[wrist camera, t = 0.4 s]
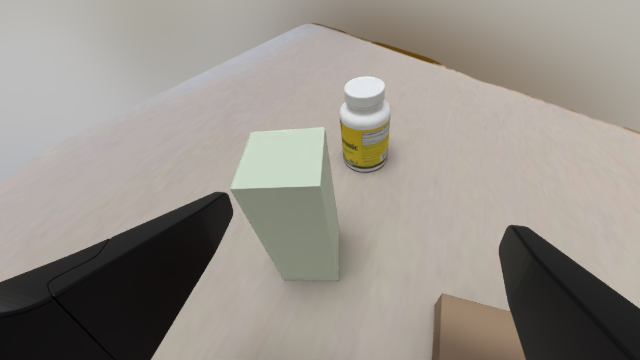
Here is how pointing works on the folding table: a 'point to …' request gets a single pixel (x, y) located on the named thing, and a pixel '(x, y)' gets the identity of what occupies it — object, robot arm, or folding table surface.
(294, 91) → the folding table surface
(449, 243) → the folding table surface
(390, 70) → the folding table surface
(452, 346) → the walnut block
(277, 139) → the sage post
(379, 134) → the supplement bottle
